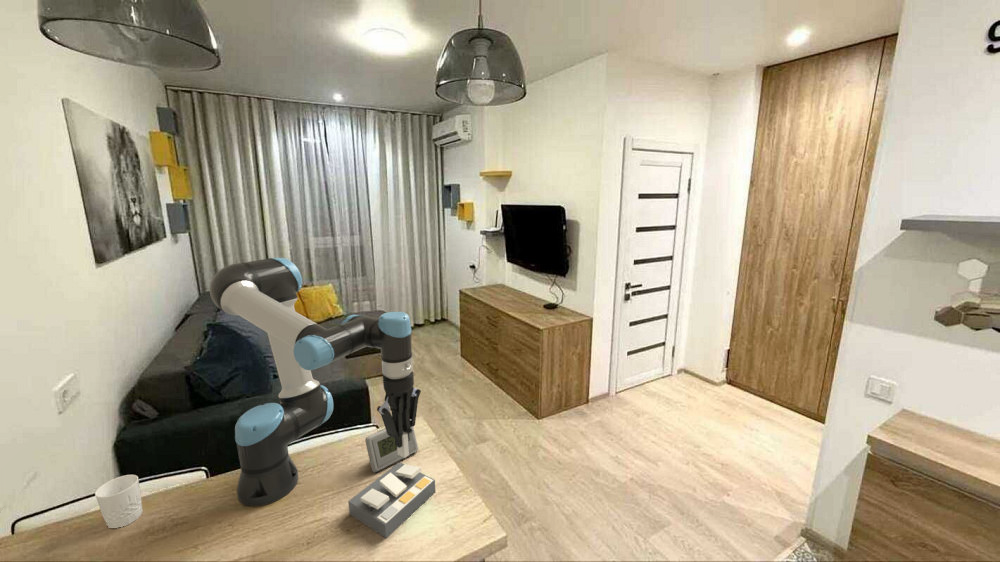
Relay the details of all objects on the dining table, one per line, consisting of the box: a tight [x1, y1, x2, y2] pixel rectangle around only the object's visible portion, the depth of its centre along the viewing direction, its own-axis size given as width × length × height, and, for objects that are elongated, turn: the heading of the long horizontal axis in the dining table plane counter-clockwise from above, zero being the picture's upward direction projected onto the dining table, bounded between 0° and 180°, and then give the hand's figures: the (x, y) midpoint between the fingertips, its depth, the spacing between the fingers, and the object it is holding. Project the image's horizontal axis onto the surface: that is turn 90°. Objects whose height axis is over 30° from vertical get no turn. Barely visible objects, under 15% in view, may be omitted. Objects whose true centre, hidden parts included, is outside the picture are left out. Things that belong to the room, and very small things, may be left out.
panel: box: [347, 461, 436, 539], centre depth 105 cm, size 14×18×5 cm
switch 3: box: [396, 464, 422, 479], centre depth 110 cm, size 6×4×2 cm, turn 58°
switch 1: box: [361, 489, 389, 509], centre depth 100 cm, size 6×4×2 cm, turn 58°
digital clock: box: [365, 419, 419, 473], centre depth 123 cm, size 16×9×11 cm, turn 122°
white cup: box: [94, 474, 144, 529], centre depth 99 cm, size 8×8×10 cm
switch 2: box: [379, 472, 407, 497], centre depth 105 cm, size 6×4×2 cm, turn 58°
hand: (403, 454), depth 103 cm, fingers closed
